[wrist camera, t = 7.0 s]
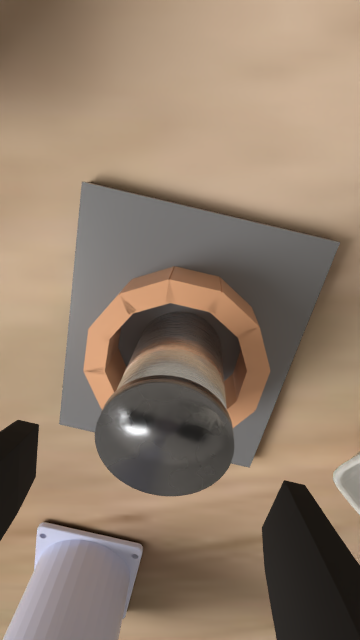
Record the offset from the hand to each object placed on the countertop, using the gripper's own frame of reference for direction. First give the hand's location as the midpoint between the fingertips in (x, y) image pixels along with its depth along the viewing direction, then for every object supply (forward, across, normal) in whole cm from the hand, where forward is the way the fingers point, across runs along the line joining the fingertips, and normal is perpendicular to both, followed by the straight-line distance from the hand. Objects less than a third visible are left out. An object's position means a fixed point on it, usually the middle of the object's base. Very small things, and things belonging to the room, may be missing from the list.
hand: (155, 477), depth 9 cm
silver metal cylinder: (+8, 0, 0) cm, 9 cm away
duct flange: (+9, 0, 0) cm, 9 cm away
